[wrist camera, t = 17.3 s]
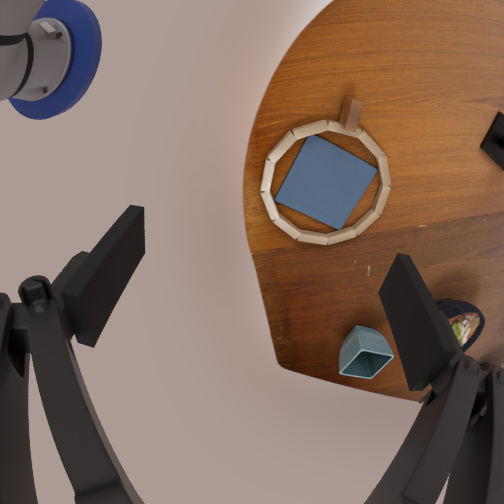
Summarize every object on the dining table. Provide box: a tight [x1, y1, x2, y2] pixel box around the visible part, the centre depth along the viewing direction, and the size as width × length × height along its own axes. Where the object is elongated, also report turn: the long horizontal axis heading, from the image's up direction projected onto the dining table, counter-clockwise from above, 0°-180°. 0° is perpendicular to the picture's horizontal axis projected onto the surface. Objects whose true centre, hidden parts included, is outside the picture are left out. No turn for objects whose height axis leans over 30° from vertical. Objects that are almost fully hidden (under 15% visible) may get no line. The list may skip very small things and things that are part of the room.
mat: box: [274, 134, 378, 230], centre depth 45 cm, size 12×12×1 cm
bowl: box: [435, 299, 485, 352], centre depth 55 cm, size 17×17×10 cm
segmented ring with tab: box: [260, 96, 391, 245], centre depth 42 cm, size 24×20×4 cm
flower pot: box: [339, 325, 394, 379], centre depth 60 cm, size 9×9×9 cm
